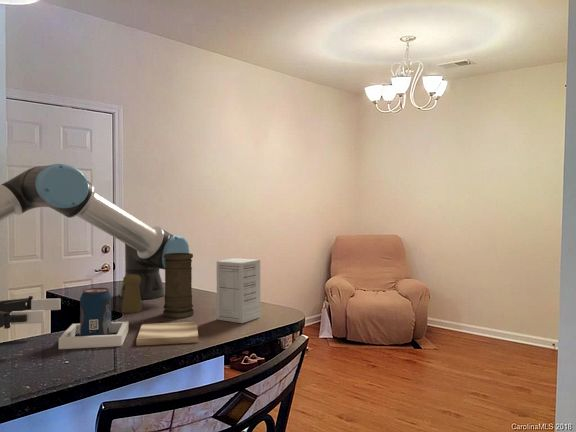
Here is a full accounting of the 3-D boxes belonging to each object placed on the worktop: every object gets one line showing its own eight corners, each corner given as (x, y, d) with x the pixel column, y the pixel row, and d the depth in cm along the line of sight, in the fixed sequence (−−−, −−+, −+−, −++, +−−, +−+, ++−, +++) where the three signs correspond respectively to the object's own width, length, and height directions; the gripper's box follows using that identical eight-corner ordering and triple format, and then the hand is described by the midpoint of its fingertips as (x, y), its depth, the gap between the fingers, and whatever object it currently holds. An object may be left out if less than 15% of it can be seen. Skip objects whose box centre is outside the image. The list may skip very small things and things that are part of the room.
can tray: (72, 333, 119) (72, 323, 119) (128, 330, 122) (128, 321, 122) (58, 349, 106) (58, 338, 106) (121, 346, 109) (121, 335, 109)
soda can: (83, 336, 117) (83, 287, 116) (113, 334, 118) (113, 286, 118) (77, 344, 110) (77, 292, 110) (109, 342, 111) (109, 291, 111)
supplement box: (261, 317, 138) (262, 259, 137) (242, 324, 130) (243, 262, 129) (235, 313, 143) (235, 257, 142) (215, 319, 135) (215, 260, 134)
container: (186, 318, 135) (186, 255, 135) (157, 317, 137) (157, 254, 137) (198, 312, 144) (198, 252, 144) (171, 310, 146) (171, 252, 145)
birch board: (141, 329, 123) (141, 324, 123) (196, 327, 126) (196, 321, 126) (136, 345, 109) (136, 339, 109) (198, 342, 112) (198, 336, 112)
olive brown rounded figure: (134, 313, 142) (134, 276, 141) (117, 311, 144) (117, 275, 143) (146, 309, 147) (146, 273, 147) (130, 307, 149) (130, 272, 149)
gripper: (-25, 317, 120) (65, 313, 124) (-79, 346, 95) (36, 340, 100) (-25, 287, 119) (65, 285, 124) (-80, 308, 95) (36, 305, 100)
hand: (52, 309), depth 112 cm, fingers open, 13 cm apart
